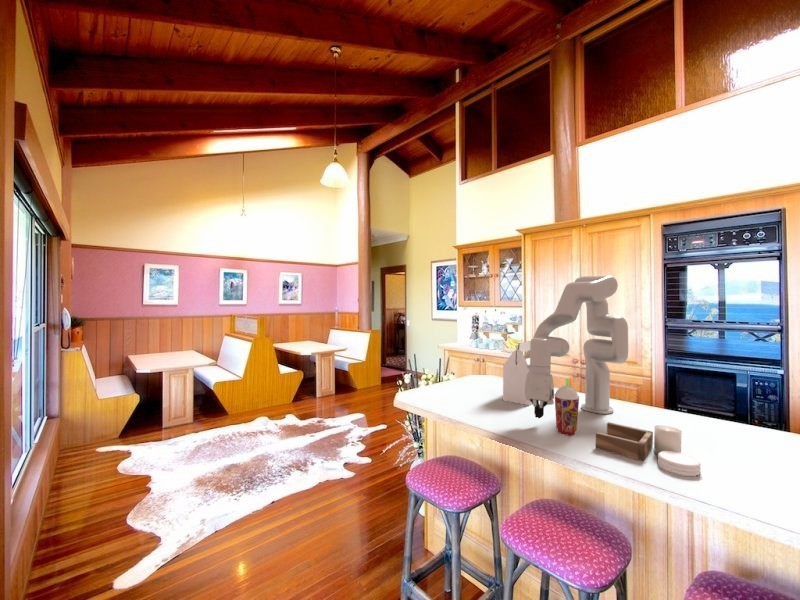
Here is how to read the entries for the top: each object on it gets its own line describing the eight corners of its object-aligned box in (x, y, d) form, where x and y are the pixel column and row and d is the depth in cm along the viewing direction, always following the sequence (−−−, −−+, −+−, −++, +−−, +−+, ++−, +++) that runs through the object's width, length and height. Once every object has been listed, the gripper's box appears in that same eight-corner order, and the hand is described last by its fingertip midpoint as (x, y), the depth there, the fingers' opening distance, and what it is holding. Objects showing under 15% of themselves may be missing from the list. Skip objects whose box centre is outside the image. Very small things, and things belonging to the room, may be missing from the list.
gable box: (521, 391, 194) (522, 338, 193) (547, 396, 185) (547, 341, 184) (502, 400, 177) (503, 342, 177) (529, 406, 168) (529, 345, 168)
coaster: (708, 479, 102) (709, 466, 102) (669, 476, 104) (669, 463, 104) (687, 462, 112) (687, 451, 112) (651, 460, 114) (651, 449, 114)
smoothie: (576, 438, 130) (576, 382, 130) (551, 433, 135) (552, 379, 135) (581, 431, 137) (581, 378, 136) (557, 427, 142) (557, 375, 141)
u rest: (608, 435, 133) (608, 422, 133) (652, 446, 124) (652, 431, 124) (595, 448, 122) (595, 433, 122) (643, 460, 113) (643, 444, 113)
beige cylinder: (656, 447, 123) (656, 423, 123) (682, 453, 118) (682, 429, 118) (652, 453, 118) (652, 429, 118) (679, 460, 113) (680, 434, 113)
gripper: (517, 368, 145) (516, 414, 145) (555, 374, 134) (554, 424, 134) (525, 366, 150) (524, 410, 150) (563, 371, 140) (562, 419, 140)
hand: (538, 416), depth 142 cm, fingers closed
